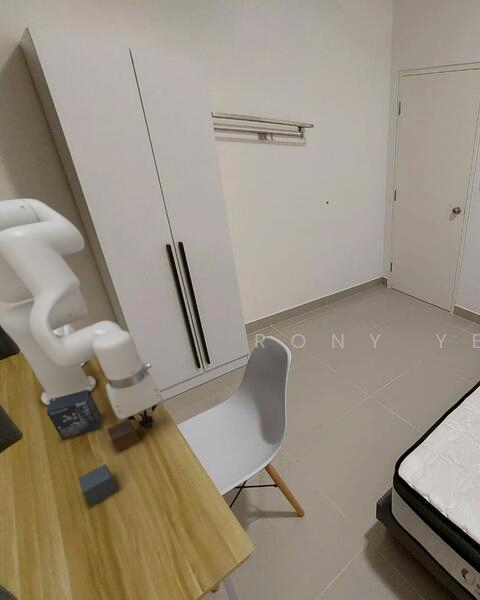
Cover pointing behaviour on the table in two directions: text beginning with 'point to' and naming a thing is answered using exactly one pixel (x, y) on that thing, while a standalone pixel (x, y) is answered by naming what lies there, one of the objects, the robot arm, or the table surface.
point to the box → (74, 414)
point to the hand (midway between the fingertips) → (148, 425)
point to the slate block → (97, 484)
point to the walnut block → (123, 435)
